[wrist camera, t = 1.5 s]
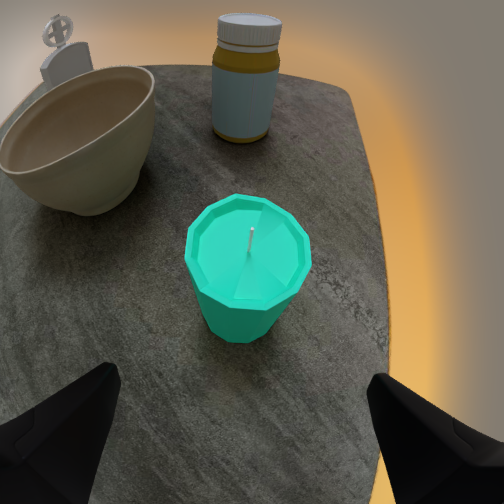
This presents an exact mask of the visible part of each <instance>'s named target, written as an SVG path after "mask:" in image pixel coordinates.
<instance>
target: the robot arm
mask: <svg viewBox="0 0 504 504" xmlns="http://www.w3.org/2000/svg"><path fill="white" fill-rule="evenodd" d="M120 387H121V380H120V376H119V373H118V369H117V366H116V365H115V364H114V363H109V362H103V363H102V364H100V365H99V366H97V367H96V368H94V369H92V370H91V371H89V372H88V373H86V374H85V375H83V376H82V377H80V378H79V379H77V380H75V381H74V382H72V383H71V384H69V385H68V386H66V387H65V388H63V389H61V390H60V391H58V392H57V393H55V394H54V395H52V396H50V397H49V398H47V399H46V400H44V401H43V402H41V403H39V404H38V405H36V406H35V407H34V408H31V409H30V410H28V411H27V412H25V413H23V414H21V415H20V416H18V417H16V418H14V419H12V420H10V421H8V422H7V423H4V424H2V425H0V504H88V501H89V497H90V493H91V489H92V486H93V482H94V479H95V475H96V472H97V468H98V465H99V462H100V458H101V455H102V452H103V449H104V446H105V443H106V440H107V437H108V434H109V431H110V428H111V425H112V421H113V417H114V413H115V408H116V404H117V400H118V395H119V391H120ZM367 399H368V404H369V408H370V413H371V418H372V423H373V427H374V431H375V434H376V437H377V440H378V443H379V447H380V450H381V453H382V456H383V460H384V463H385V466H386V470H387V473H388V477H389V480H390V484H391V487H392V491H393V495H394V498H395V502H396V504H504V442H500V441H497V440H495V439H493V438H491V437H489V436H487V435H484V434H482V433H480V432H478V431H476V430H474V429H472V428H471V427H469V426H467V425H465V424H464V423H462V422H460V421H458V420H457V419H455V418H454V417H452V416H451V415H449V414H447V413H446V412H444V411H443V410H441V409H439V408H438V407H436V406H435V405H433V404H432V403H430V402H429V401H427V400H425V399H424V398H422V397H421V396H419V395H418V394H416V393H415V392H413V391H412V390H410V389H409V388H407V387H406V386H404V385H403V384H401V383H400V382H398V381H397V380H395V379H393V378H392V377H390V376H389V375H388V374H386V373H378V374H375V375H374V376H373V378H372V380H371V382H370V384H369V386H368V388H367Z"/></svg>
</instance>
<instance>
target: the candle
mask: <svg viewBox="0 0 504 504" xmlns="http://www.w3.org/2000/svg"><path fill="white" fill-rule="evenodd" d="M185 262H186V265H187V268H188V272H189V275H190V278H191V281H192V284H193V287H194V290H195V293H196V296H197V299H198V302H199V305H200V308H201V311H202V314H203V316H204V318H205V320H206V322H207V324H208V326H209V328H210V330H211V332H213V333H214V334H216V335H217V336H219V337H221V338H222V339H224V340H225V341H227V342H232V343H250V342H251V341H253V340H255V339H257V338H259V337H261V336H263V335H264V334H266V333H267V331H268V330H269V329H270V328H271V326H272V325H273V324H274V323H275V321H276V320H277V319H278V317H279V316H280V315H281V313H282V312H283V311H284V309H285V308H286V307H287V306H288V304H289V303H290V302H291V300H292V299H293V298H294V296H295V295H296V294H297V292H298V290H299V289H300V287H301V285H302V283H303V281H304V279H305V277H306V276H307V274H308V272H309V270H310V268H311V266H312V262H311V252H310V242H309V236H308V235H307V234H306V232H305V231H304V230H303V229H302V227H301V226H300V225H299V224H298V222H297V221H296V220H295V218H294V217H293V216H292V215H291V214H290V213H288V212H287V211H285V210H283V209H282V208H280V207H278V206H277V205H275V204H273V203H272V202H270V201H269V200H267V199H265V198H259V197H253V196H247V195H241V194H233V195H231V196H229V197H227V198H225V199H223V200H220V201H218V202H216V203H214V204H212V205H210V206H208V207H207V208H206V209H205V210H204V211H203V212H202V213H201V214H200V216H199V217H198V218H197V219H196V220H195V221H194V222H193V223H192V225H191V226H190V227H189V228H188V235H187V243H186V250H185Z"/></svg>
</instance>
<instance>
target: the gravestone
mask: <svg viewBox="0 0 504 504" xmlns="http://www.w3.org/2000/svg"><path fill="white" fill-rule="evenodd" d="M60 20H63V21H64V22H65V23H66V25H65V26H63V27H62V26H61V21H60ZM51 25H52V27H53V32H52V33H50V34H48V32H49V29H50V27H51ZM66 29H67V33H66V35H65V37H64V35H63V31H64V30H66ZM72 31H73V23H72V21H71V19H70V18H69V17H67V16H59V14H58V15H56V16H54V17H52V18H51V21H50V22H49V23H48V24H47V25H46V27H45V28H44V31H43V41H44V43H45V44H46V45H47V46H49V47H57V49H56V50H55V51H54V52H53V53H51V55H49V56H48V57H47V58H46V60H45V61H44V62H43V64H42V66H41V68H40V71H41V74H42V77H43V80H44V83H45V86H46V89H47V91H50V90H51V89H53V88H55V87H56V86H58V85H60V84H62V83H64V82H66V81H68V80H70V79H72V78H74V77H77V76H79V75H82V74H84V73H87V72H90V71H93V70H94V69H93V65H92V61H91V56H90V52H89V47H88V43H86V42H76V43H70V44H67V45H66V44H65V42H66V41H67V40H68V39H69V38H70V36H71V34H72ZM53 36H55V41H56V43H52V42H51V41H50V40H49V39H50V38H52V37H53Z"/></svg>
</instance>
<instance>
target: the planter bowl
mask: <svg viewBox="0 0 504 504" xmlns="http://www.w3.org/2000/svg"><path fill="white" fill-rule="evenodd" d="M154 95H155V79H154V77H153V75H152V74H151V72H149V71H148V70H146V69H144V68H141V67H138V66H132V65H131V66H130V65H122V66H121V65H119V66H111V67H106V68H101V69H97V70H93V71H90V72H87V73H84V74H82V75H79V76H77V77H74V78H72V79H70V80H68V81H66V82H64V83H62V84H60V85H58V86H56V87H55V88H53V89H51V90H50V91H48V92H47V93H45V94H44V95H43V96H41V97H40V98H38V99H37V100H36V101H35V102H34V103H32V104H31V105H30V106H29V107H28V108H27V109H26V110H25V111H24V112H23V113H22V114H21V115H20V116H19V117H18V118H17V120H16V121H15V122H14V123H13V124H12V126H11V127H10V128H9V130H8V131H7V133H6V134H5V136H4V138H3V140H2V142H1V144H0V168H1V170H2V171H3V172H4V174H6V175H7V176H8V177H9V178H11V179H12V180H13V181H14V183H15V184H16V185H17V186H18V187H19V188H20V189H21V190H22V191H23V192H24V193H25V194H27V195H28V196H29V197H30V198H32V199H34V200H35V201H37V202H39V203H41V204H43V205H45V206H48V207H51V208H54V209H58V210H63V211H71V212H73V213H75V214H77V215H80V216H94V215H98V214H102V213H104V212H107V211H109V210H111V209H112V208H114V207H116V206H117V205H118V204H120V203H121V202H122V201H123V200H125V199H126V197H127V196H128V195H129V194H130V193H131V192H132V190H133V189H134V187H135V185H136V183H137V181H138V178H139V173H140V169H141V167H142V165H143V163H144V161H145V158H146V156H147V153H148V151H149V148H150V144H151V140H152V136H153V131H154V123H155V102H154Z"/></svg>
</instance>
